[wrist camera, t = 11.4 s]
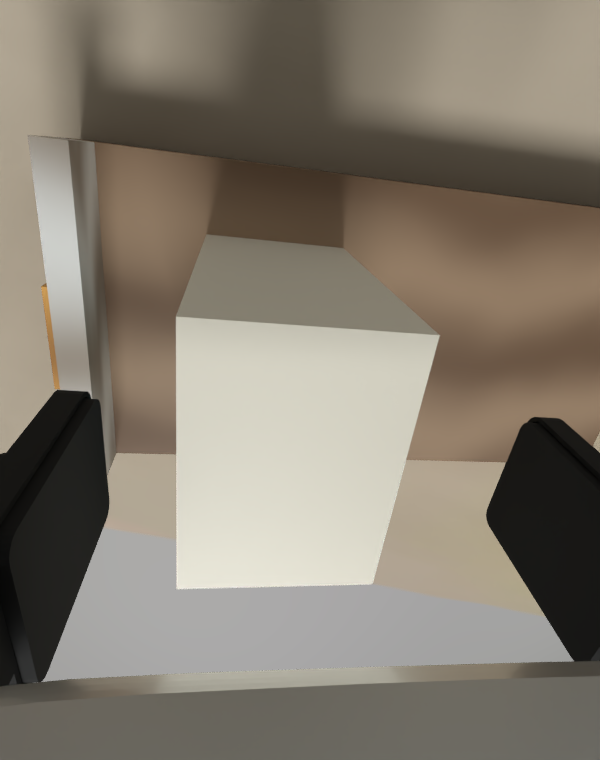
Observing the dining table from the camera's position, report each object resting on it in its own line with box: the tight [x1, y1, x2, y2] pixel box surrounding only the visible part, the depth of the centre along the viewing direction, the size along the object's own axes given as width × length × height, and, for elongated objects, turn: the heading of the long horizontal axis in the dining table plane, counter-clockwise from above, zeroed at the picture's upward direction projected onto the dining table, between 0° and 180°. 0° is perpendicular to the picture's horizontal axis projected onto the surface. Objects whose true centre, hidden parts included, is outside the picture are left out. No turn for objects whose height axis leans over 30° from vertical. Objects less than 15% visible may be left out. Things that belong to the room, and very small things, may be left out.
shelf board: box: [28, 135, 600, 475], centre depth 18 cm, size 12×24×4 cm, turn 83°
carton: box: [176, 234, 440, 589], centre depth 14 cm, size 5×7×9 cm
